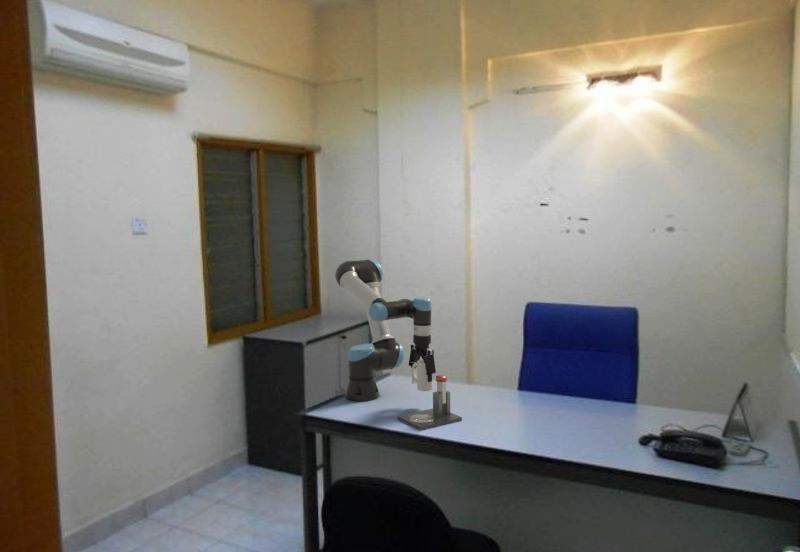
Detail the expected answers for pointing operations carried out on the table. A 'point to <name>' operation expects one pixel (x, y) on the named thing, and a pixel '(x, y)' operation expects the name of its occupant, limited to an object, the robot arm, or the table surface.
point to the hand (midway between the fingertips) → (421, 385)
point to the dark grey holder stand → (432, 414)
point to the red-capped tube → (441, 386)
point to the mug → (420, 375)
